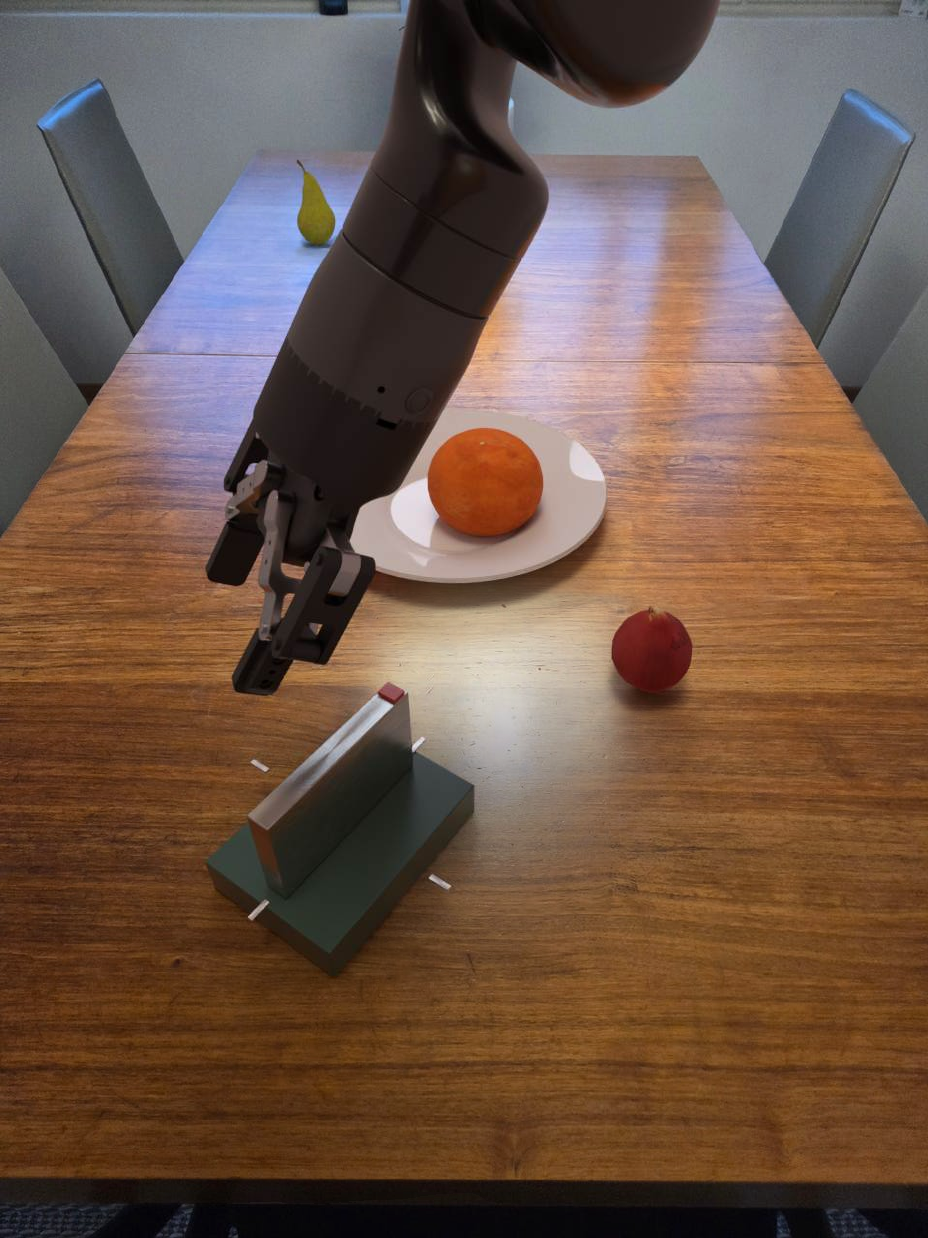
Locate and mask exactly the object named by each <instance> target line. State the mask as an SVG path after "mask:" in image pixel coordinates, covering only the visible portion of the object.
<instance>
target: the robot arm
mask: <svg viewBox="0 0 928 1238" xmlns="http://www.w3.org/2000/svg"><path fill="white" fill-rule="evenodd" d="M720 3H721V0H409V2H408V6H407V11H406V18H405V23H404V27H403V34H402V37H401V42H400V43H401V44H400V48H399V53H398V57H397V62H396V67H395V73H394V79H393V86H392V91H391V98H390V104H389V110H388V114H387V121H386V124H385V128H384V133H383V135H382V138H381V141H380V142H379V144H378V147H377V149H376V151H375V153H374V155H373V157H372V159H371V161H370V165H369V166H368V168H367V170H366V171H365V174H364V176H363V179H362V181H361V183H360V185H359V188H358V189H357V192H356V194H355V196H354V199H353V201H352V203H351V205H350V208H349V209H348V212H347V214H346V217H345V218H344V221H343V223H342V227H341V229H340V230H339V232H338V234H337V235H336V238H335V240H334V241H333V243H332V244H331V246H330V247H329V250H328V252H327V253H326V255H325V256H324V258H323V260H322V261H321V262H320V263H319V266H318V267H317V269H316V271H315V272H314V274H313V275H312V278H311V280H310V282H309V283H308V285H307V288H306V291H305V292H304V295H303V297H302V299H301V302H300V304H299V306H298V309H297V310H296V313H295V315H294V317H293V319H292V322H291V324H290V327H289V328H288V331H287V333H286V336H285V337H284V340H283V342H282V344H281V347H280V349H279V351H278V353H277V356H276V358H275V359H274V362H273V365H272V366H271V369H270V372H269V374H268V376H267V379H266V380H265V382H264V385H263V387H262V389H261V391H260V394H259V396H258V398H257V401H256V403H255V405H254V408H253V412H252V419H251V421H250V423H249V426H248V428H247V429H246V432H245V434H244V436H243V438H242V440H241V442H240V444H239V447H238V449H237V450H236V453H235V455H234V456H233V459H232V461H231V463H230V466H229V468H228V469H227V472H226V474H225V476H224V477H223V490H224V491H225V492H226V493H231V494H232V497H230V498H229V499H228V501H227V502H226V504H225V507H224V518H225V520H226V521H225V524H224V526H223V528H222V530H221V532H220V534H219V536H218V538H217V540H216V543H215V545H214V547H213V550H212V552H211V553H210V556H209V558H208V560H207V562H206V564H205V573H206V578H207V580H208V581H210V582H211V583H215V584H220V585H227V586H232V587H240V586H242V585H244V584H245V583H246V581H247V579H248V578H249V575H250V573H251V571H252V569H253V567H254V565H255V563H256V561H257V559H258V557H259V555H260V553H261V551H262V554H261V558H260V559H261V560H260V565H259V570H258V575H257V584H258V586H259V587H260V588H261V589H262V590H263V592H264V598H263V604H262V609H261V614H260V619H259V624H258V627H256V628H255V630H254V632H253V634H252V636H251V638H250V640H249V641H248V644H247V645H246V647H245V650H243V653H242V655H241V657H240V659H239V661H238V663H237V664H236V666H235V669H234V670H233V672H232V675H231V683H232V686H233V690H234V691H235V692H236V693H238V694H245V695H252V696H261V697H262V696H263V697H268V696H272V695H274V694H275V693H276V692H277V691H278V690H279V687H280V686H281V684H282V682H283V680H284V678H285V676H286V675H287V673H288V672H289V669H290V668H291V667H292V665H293V663H294V661H297V662H304V663H312V664H314V665H321V666H325V665H327V664H328V663H329V661H330V660H331V658H332V655H333V654H334V652H335V650H336V648H337V647H338V644H339V643H340V641H341V639H342V637H343V636H344V633H345V631H346V629H347V627H348V625H349V624H350V622H351V620H352V619H353V616H354V614H355V613H356V611H357V609H358V608H359V606H360V604H361V601H362V599H363V597H364V596H365V595H366V592H367V590H368V589H369V586H370V585H371V583H372V581H373V579H374V577H375V574H376V571H377V570H376V563H375V560H374V558H373V557H369V556H365V555H361V554H358V553H356V552H355V551H354V549H353V547H352V545H351V543H350V539H351V536H352V533H353V529H354V525H355V522H356V518H357V516H358V513H359V510H360V508H361V507H362V506H363V505H364V504H366V503H368V502H370V501H373V500H375V499H378V498H382V497H386V496H388V495H391V494H392V493H394V492H395V491H397V490H398V489H399V487H400V486H401V485H402V483H403V481H404V479H405V478H406V476H407V474H408V472H409V471H410V469H411V467H412V465H413V463H414V462H415V460H416V458H417V456H418V455H419V453H420V451H421V449H422V448H423V446H424V444H425V442H426V440H427V439H428V437H429V435H430V434H431V432H432V430H433V428H434V426H435V425H436V423H437V421H438V419H439V418H440V416H441V414H442V412H443V411H444V409H446V407H447V406H448V403H449V402H450V400H451V398H452V397H453V395H454V393H455V391H456V390H457V387H459V384H460V383H461V381H462V379H463V377H464V375H465V373H466V371H467V369H468V367H469V366H470V363H471V361H472V359H473V356H474V354H475V351H476V349H477V346H478V344H479V341H480V338H481V336H482V334H483V331H484V329H485V327H486V325H487V324H488V321H489V319H490V317H491V315H492V313H493V312H494V309H495V308H496V306H497V304H498V303H499V300H500V299H501V297H502V296H503V294H504V292H505V290H506V288H507V287H508V286H509V285H508V284H509V283H510V282H511V279H512V277H514V274H515V272H516V270H517V269H518V267H519V265H520V263H521V261H522V259H523V258H524V257H525V255H526V253H527V251H528V249H529V248H530V247H531V244H532V242H533V240H534V239H535V237H536V235H537V233H538V232H539V229H540V228H541V225H542V223H543V221H544V219H545V217H546V214H547V210H548V207H549V202H550V191H549V186H548V182H547V180H546V178H545V176H544V174H543V173H542V171H541V170H540V168H539V166H538V165H537V164H536V162H535V161H534V160H533V159H532V158H531V156H529V154H528V153H527V152H526V151H525V149H524V148H523V147H522V146H521V144H520V143H519V141H518V140H517V139H516V137H515V136H514V133H513V131H512V130H511V127H510V125H509V124H510V123H509V110H510V102H511V101H510V100H511V94H512V88H513V83H514V78H515V72H516V69H517V65H518V62H519V63H520V64H521V65H524V66H525V67H526V68H527V69H529V70H531V71H533V72H534V73H536V74H537V75H539V76H540V77H542V78H543V79H545V80H546V81H547V82H549V83H551V84H552V85H553V86H555V87H557V88H558V89H559V90H561V91H562V92H564V93H566V94H568V95H569V96H571V97H572V98H573V99H576V100H577V101H580V102H582V103H584V104H587V105H590V106H593V107H597V108H601V109H623V108H624V109H625V108H630V107H633V106H637V105H639V104H643V103H644V102H647V101H649V100H651V99H653V98H655V97H657V96H658V95H660V94H661V93H664V92H665V91H667V89H669V88H671V86H672V85H673V84H675V82H677V81H678V80H679V79H680V78H681V77H682V75H683V74H685V72H686V71H687V70H688V69H689V67H690V66H691V65H692V64H693V63H694V61H695V59H696V58H697V57H698V55H699V53H700V52H701V51H702V49H703V47H704V45H705V43H706V42H707V39H708V37H709V35H710V32H711V30H712V28H713V26H714V23H715V20H716V18H717V15H718V11H719V7H720ZM253 464H255V465H254V471H253V472H251V473H250V474H248V473H247V471H248V469H249V467H250V466H251V465H253ZM282 564H284V565H290V566H295V567H299V568H303V571H304V574H303V576H302V579H301V578H295V577H291V576H287V575H286V574H285V573H284V572H283V569H282ZM289 594H292V595H293V597H292V599H291V601H290V603H289V605H288V607H287V609H286V611H285V613H284V616H283V617H282V613H283V608H284V602H285V598H286V596H288V595H289ZM319 625H321V626H320V627H319Z"/></svg>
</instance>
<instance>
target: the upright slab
mask: <svg viewBox="0 0 928 1238" xmlns="http://www.w3.org/2000/svg"><path fill="white" fill-rule="evenodd" d="M409 696H410V695H409V692H408V691H406V690H404V689H403V688H400V687H399V686H397V685H395V684H393V683H391V682H390V681H387V682H386V683H385V684H384V685H383V686H381V687H380V689H379V690H377V691H376V693H375V694H374V695H373V696H372V697H371V698H370V699H369V700H367V701H366V702H365V704H363V705H362V706H361V707H360V708H359V709H358V710H357V711H356V712H355V713H354V714H353V715H352V716H350V717H349V718H348V720H346V721H345V723H343V724H342V725H341V726H340V727H339V728H338V729H337V730H335V731H334V732H333V734H331V735H330V736H329V737H328V738H327V739H326V740H325V741H324V742H323V743H322V744H321V745H320V746H319V747H317V749H315V750H314V751H313V752H312V753H311V754H310V755H309V756H308V757H307V758H306V759H305V760H303V762H301V764H299V765H298V767H296V768H295V769H294V770H293V771H292V772H291V773H290V774H289V775H288V776H287V777H285V779H284V780H283V781H281V782H280V783H279V784H278V786H276V787H275V788H274V789H273V790H272V791H271V792H270V793H269V794H267V795H266V796H265V797H264V798H263V799H262V800H261V801H260V802H259V803H258V804H257V805H256V806H254V808H253V809H252V810H250V811H249V812H248V813H247V815H246V818H247V822H248V823H249V826H250V829H251V833H252V836H253V839H254V843H255V846H256V850H257V853H258V856H259V860H260V863H261V866H262V870H263V873H264V877H265V880H266V883H267V886H269V887H270V888H272V889H273V890H274V891H276V892H277V893H278V894H280V895H281V896H283V897H284V898H288V896H289V895H290V894H291V893H292V892H293V891H294V890H295V889H296V888H297V887H298V886H299V885H300V884H301V883H302V882H303V881H304V880H305V879H306V877H307V876H308V875H309V874H310V873H311V872H312V871H313V870H314V869H315V868H316V867H317V866H318V865H319V864H320V863H321V862H322V861H323V859H324V858H325V857H326V856H327V855H328V854H329V853H330V852H331V851H332V850H333V849H334V848H335V847H336V846H337V845H338V844H339V843H340V841H341V840H342V839H343V838H344V837H345V836H346V835H347V834H348V833H349V832H350V831H351V830H352V829H353V828H354V827H355V826H356V825H357V824H358V822H359V821H360V820H361V819H362V818H363V817H364V816H365V815H366V814H367V813H368V812H369V811H370V810H371V809H372V808H373V807H374V806H375V804H376V803H377V802H378V801H379V800H380V799H381V798H382V797H383V796H384V795H385V794H386V793H387V792H388V791H389V790H390V789H391V788H392V787H393V785H394V784H395V783H396V782H397V781H398V780H399V779H400V778H401V777H402V776H403V775H404V774H405V773H406V772H407V771H408V770H409V769H410V767H411V766H412V765H413V751H412V746H413V740H412V739H413V737H412V726H411V725H412V724H411V711H410V709H411V708H410V697H409Z"/></svg>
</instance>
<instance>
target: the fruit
mask: <svg viewBox="0 0 928 1238" xmlns="http://www.w3.org/2000/svg"><path fill="white" fill-rule="evenodd" d="M296 163H297V164H298V166H299V167H300V168H301V169H302V171H303V176H302V178H303V185H302V191H301V193H302V194H301V196H302V198H301V205H300V208H299V211H298V213H297V218H296V225H297V228H298V231H299V233H300V234H301V236H302V238H303V239H304V240H305V241H306V242H308V243H309V244H310V245H311V244H312V245H314V246H322V245H323V246H324V245H325V244H326V243H328V242H329V240H330V239H331V238H332V236H333V234H334V232H335V228H336V216H335V213H334V211H333V209H332V207H331V206H330V204H329V203H328V201H327V199H326V196H325V194H324V192H323V190H322V188H321V186H320V184H319V182H318V180H317V179H316V178H315V176H314V175H313V174H312V173H310V172H308V171H306V169H305V167H304V165H303V163H302V162H301V161H300V160H299V159H296Z"/></svg>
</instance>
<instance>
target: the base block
mask: <svg viewBox="0 0 928 1238" xmlns="http://www.w3.org/2000/svg"><path fill="white" fill-rule="evenodd" d="M426 741H427V739H426V738H425V737H423V736H421V737H420V738H419V739H418V740H417V741H416V742H415V743H414V744H412V751H413V765H412V766H411V767H410V769H409V770H408V771H407V772H406V773H405V774H404V775H403V776H402V777H401V778H400V779H399V780H398V781H397V782H396V783H395V784H394V785H393V787H392V788H391V789H390V790H389V791H388V792H387V793H386V794H385V795H384V796H383V797H382V798H381V799H380V800H379V801H378V802H377V803H376V804H375V806H374V807H373V808H372V809H371V810H370V811H369V812H368V813H367V814H366V815H365V816H364V817H363V818H362V819H361V820H360V821H359V822H358V824H357V825H356V826H355V827H354V828H353V829H352V830H351V831H350V832H349V833H348V834H347V835H346V836H345V837H344V838H343V839H342V840H341V841H340V843H339V844H338V845H337V846H336V847H335V848H334V849H333V850H332V851H331V852H330V853H329V854H328V855H327V856H326V857H325V858H324V859H323V861H322V862H321V863H320V864H319V865H318V866H317V867H316V868H315V869H314V870H313V871H312V872H311V873H310V874H309V875H308V876H307V877H306V879H305V880H304V881H303V882H302V883H301V884H300V885H299V886H298V887H297V888H296V889H295V890H294V891H293V892H292V893H291V894H290V895H289V896H288V898H284V897H283V896H281V895H280V894H278V893H277V892H276V891H274V890H273V889H272V888H270V887H269V886H267V883H266V880H265V877H264V873H263V870H262V866H261V863H260V860H259V856H258V853H257V850H256V846H255V843H254V839H253V836H252V833H251V829H250V826H249V823H248V821H246V822H245V824H243V825H242V826H241V827H240V828H239V829H238V830H237V831H236V832H235V833H234V834H233V835H232V836H230V837H229V838H228V839H227V840H226V841H225V842H224V843H223V844H222V845H221V846H220V847H219V848H218V849H217V850H216V851H215V852H214V853H213V854H212V855H211V856H210V857H208V859H207V860H205V865H206V868H207V870H208V873H209V875H210V878H211V882H212V884H213V887H214V889H215V890H217V891H218V892H219V893H220V894H222V895H223V896H225V897H226V898H227V899H228V900H230V901H231V902H233V903H234V904H235V905H236V906H238V907H239V908H241V909H242V910H243V911H244V912H246V913H247V914H249V915H248V916H247V919H248V920H249V921H250V922H252V923H253V922H254V921H255V920H256V921H258V922H259V923H260V924H262V925H263V926H264V927H265V928H267V929H268V930H269V931H271V932H272V933H274V934H275V935H276V936H277V937H279V938H280V939H282V940H283V941H284V942H286V943H287V944H288V945H289V946H291V947H292V948H293V949H295V950H296V951H297V952H299V954H301V955H303V956H304V957H306V958H307V959H308V960H309V961H310V962H312V963H313V964H315V965H316V966H317V967H319V969H322V971H324V972H325V973H327V974H328V975H329V976H331V977H332V978H334V979H335V978H337V976H338V975H339V974H340V973H341V972H342V970H343V969H344V968H345V967H346V966H347V964H348V963H349V962H350V961H351V959H353V957H354V956H355V955H356V954H357V953H358V952H359V950H360V949H361V948H362V947H363V945H364V944H365V943H366V942H367V940H369V938H370V937H371V936H372V935H373V934H374V932H375V931H376V930H377V929H378V927H379V926H380V925H381V924H382V923H383V922H384V920H385V919H386V918H387V917H388V915H389V914H390V913H392V911H393V910H394V909H395V907H396V906H397V905H398V904H399V903H400V901H401V900H402V899H403V898H404V896H405V895H406V894H407V893H408V892H409V891H410V889H411V888H412V887H413V886H414V884H415V883H416V882H417V881H418V880H419V879H420V877H421V876H422V875H423V874H424V873H425V871H427V869H428V868H429V867H430V866H431V864H432V863H433V862H434V861H435V860H436V858H437V857H438V856H439V855H440V854H441V852H442V851H443V850H444V849H445V848H446V847H447V845H448V844H449V843H450V842H451V841H452V840H453V838H454V837H455V836H456V835H457V833H458V832H459V831H460V830H461V829H462V828H463V826H464V825H465V824H466V823H467V821H468V820H470V818H471V817H472V815H473V814H474V813H475V784H473V783H472V782H469V781H468V780H466V779H464V778H462V777H461V776H459V775H457V774H456V773H454V772H452V771H451V770H449V769H447V768H445V767H444V766H441V765H440V764H438V763H436V762H435V761H434V760H431V759H430V758H428V757H426V756H425V755H422V754H421V753H419V752H417V751H418V750H419V748H420V747H421V746H422V745H423V744H424V743H425V742H426ZM249 764H250V765H252V766H253V767H255V768H256V769H257V770H260V771H261V772H262V773H264V774H267V773H268V772H270V768H269V767H267V766H266V765H264V764H262V762H260V761H258V760H256V759H254V758H253V759H252V760H251V761H250V762H249ZM428 880H429V881H430V882H432V883H433V884H435V885H436V886H438V887H439V888H440V889H442V890H444V891H445V892H447V893H448V892H449V891H450V890H451V889H452V885H450V884H449V883H447V882H446V881H444V880H442V879H441V878H439V877H438V876H436V875H435V874H433V873H431V874H430V876H429V877H428Z"/></svg>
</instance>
